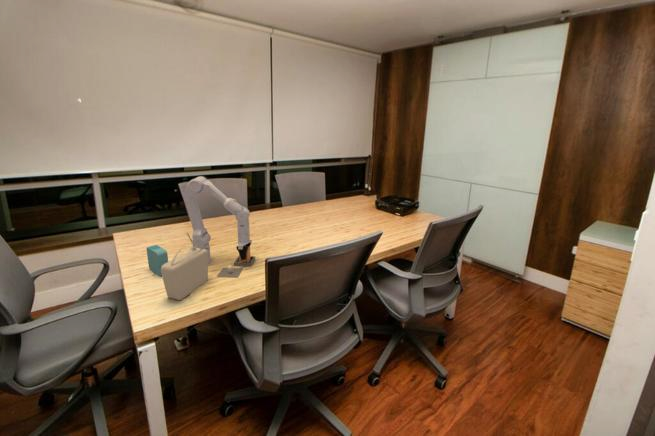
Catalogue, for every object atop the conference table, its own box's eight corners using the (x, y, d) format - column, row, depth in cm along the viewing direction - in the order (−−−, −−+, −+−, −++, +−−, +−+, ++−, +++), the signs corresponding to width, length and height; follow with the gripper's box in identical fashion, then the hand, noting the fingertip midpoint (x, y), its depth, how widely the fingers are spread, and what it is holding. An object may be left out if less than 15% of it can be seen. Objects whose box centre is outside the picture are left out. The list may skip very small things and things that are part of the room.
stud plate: (216, 278, 150) (215, 269, 149) (223, 269, 160) (222, 261, 158) (237, 279, 150) (237, 270, 149) (243, 269, 160) (243, 261, 158)
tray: (234, 267, 162) (233, 262, 161) (238, 260, 171) (238, 255, 170) (251, 267, 162) (251, 263, 162) (255, 260, 171) (255, 256, 170)
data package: (169, 274, 153) (167, 250, 149) (160, 277, 150) (157, 253, 146) (158, 266, 160) (155, 243, 157) (149, 269, 157) (145, 246, 153)
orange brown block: (248, 262, 164) (247, 249, 162) (239, 262, 164) (238, 249, 162) (250, 258, 168) (250, 246, 166) (241, 258, 168) (241, 246, 166)
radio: (196, 277, 151) (191, 226, 144) (211, 280, 149) (207, 228, 142) (160, 300, 131) (152, 242, 124) (177, 304, 128) (170, 245, 121)
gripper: (248, 237, 155) (249, 263, 158) (254, 228, 168) (255, 252, 172) (233, 236, 155) (234, 263, 158) (241, 227, 168) (242, 251, 172)
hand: (244, 257), depth 165 cm, fingers closed on orange brown block, 4 cm apart
